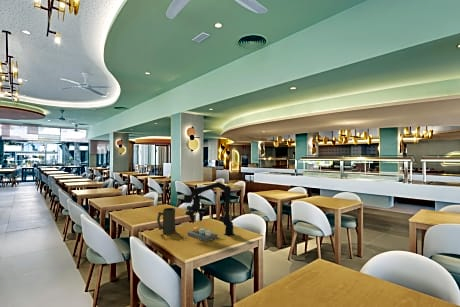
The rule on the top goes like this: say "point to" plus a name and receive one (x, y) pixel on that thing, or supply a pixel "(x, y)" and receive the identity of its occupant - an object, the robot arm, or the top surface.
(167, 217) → the beer stein
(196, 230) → the button orange
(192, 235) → the console
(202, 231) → the button teal
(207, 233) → the button cream
